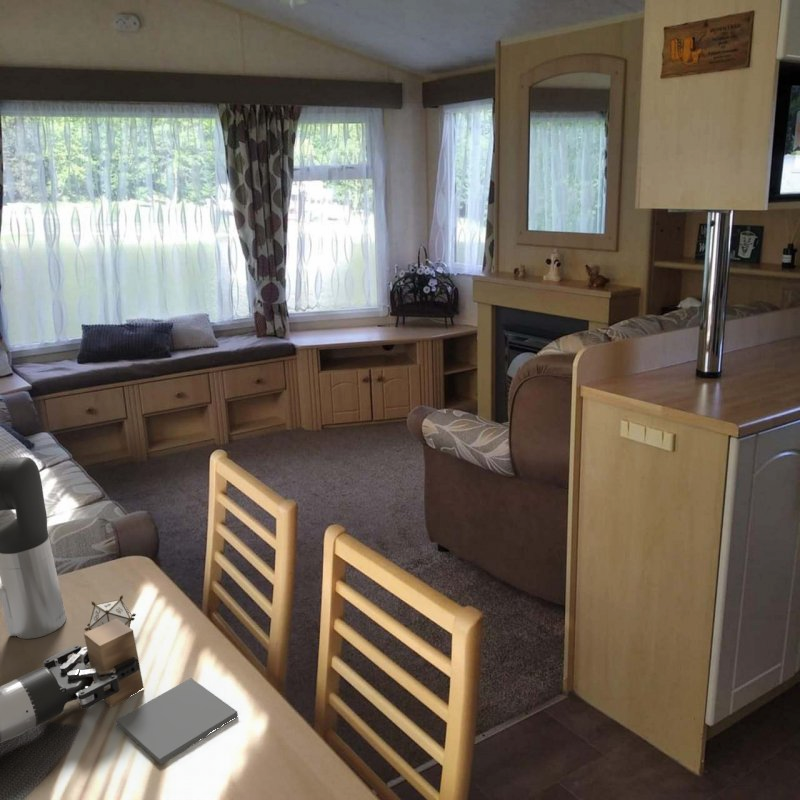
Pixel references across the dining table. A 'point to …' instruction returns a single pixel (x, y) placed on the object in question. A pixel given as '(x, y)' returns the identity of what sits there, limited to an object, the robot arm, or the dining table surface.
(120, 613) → the game die
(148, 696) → the dining table surface
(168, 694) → the rubber mat
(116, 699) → the walnut block
